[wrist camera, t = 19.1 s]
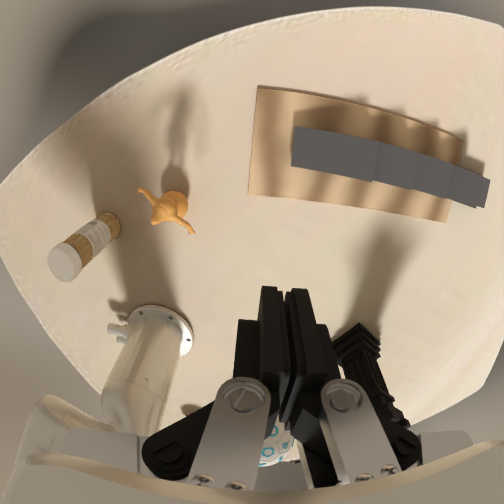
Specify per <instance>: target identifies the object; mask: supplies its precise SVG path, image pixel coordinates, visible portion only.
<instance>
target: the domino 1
mask: <svg viewBox="0 0 504 504" xmlns="http://www.w3.org/2000/svg"><path fill="white" fill-rule="evenodd" d="M378 144H379V142H378V141H374V140H370V139H365V138H361V137H356V136H351V135H346V134H341V133H336V132H330V131H324V130H318V129H311V128H304V127H297V126H295V132H294V141H293V150H292V159H291V166H292V167H298V168H304V169H309V170H315V171H320V172H326V173H331V174H336V175H341V176H345V177H350V178H355V179H359V180H363V181H368V182H372V181H373V175H374V169H375V163H376V157H377V151H378Z"/></svg>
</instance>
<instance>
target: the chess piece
mask: <svg viewBox="0 0 504 504" xmlns="http://www.w3.org/2000/svg"><path fill="white" fill-rule="evenodd" d="M379 345H381V344H380V341H378V340H377V339H376V338H375V337H374V336H373V335H372V334H371V333H370V332H369V331H368V330H367V329H366V328H365V327H364V326H363V325H361V324H360V323H358V324H357V325H355V326H354V327H353V328H351V329H350V330H349V331H347V332H346V333H345V334H343V335H342V336H340V337H339V338H338V339H336V340H335V341H333V342H332V346H333V349H334V353H335V357H336V360H337V364H338V365H339V366H341V367H342V368H343V371H344V375H345V378H346V379H348V380H352V381H354V382H356V383H358V384H359V385H360V386H361V387H362V388H363V389H364V391H365V392H366V394H367V396H368V398H369V400H370V402H371V404H372V406H373V408H374V410H375V411H376V412H378V413H380V414H381V415H383V416H385V417H386V418H388V419H390V420H392V421H393V422H395V423H397V424H398V425H400V426H402V427H404V428H405V429H407V428H409V427H410V423H409V420H407V419H405V418H404V415H403V413H402V411H400V410H399V409H397V408H395V407H394V406H393V402H394V401H395V399H394V397H393V396H391V395H390V394H389V392H388V389H387V386H386V384H385V381H384V378H383V376H382V373H381V371H380V368H379V365H378V363H377V359H378V358H380V357H381V356H380V354H379V353H378V352H379V351H381V350H380V347H378V346H379Z"/></svg>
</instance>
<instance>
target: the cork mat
mask: <svg viewBox="0 0 504 504" xmlns="http://www.w3.org/2000/svg"><path fill="white" fill-rule="evenodd" d="M295 126H297V127H304V128H311V129H318V130H324V131H330V132H336V133H341V134H346V135H351V136H356V137H361V138H365V139H370V140H374V141H378V142H382V143H386V144H390V145H394V146H397V147H401V148H405V149H408V150H412V151H415V152H418V153H421V154H424V155H427V156H430V157H433V158H436V159H439V160H442V161H445V162H448V163H451V164H453V165H455V166H458V167H459V163H460V157H461V150H462V143H463V140H461V139H458V138H456V137H454V136H451V135H449V134H447V133H444V132H442V131H440V130H437V129H434V128H432V127H429V126H427V125H424V124H421V123H419V122H416V121H413V120H410V119H407V118H404V117H401V116H398V115H395V114H391V113H388V112H385V111H381V110H378V109H374V108H370V107H367V106H363V105H359V104H354V103H350V102H346V101H341V100H337V99H332V98H327V97H321V96H316V95H310V94H303V93H297V92H289V91H281V90H272V89H262V88H258V89H257V99H256V110H255V121H254V132H253V143H252V154H251V166H250V177H249V189H248V194H250V195H261V196H271V197H281V198H290V199H299V200H308V201H316V202H324V203H331V204H339V205H346V206H353V207H359V208H366V209H372V210H378V211H384V212H390V213H396V214H402V215H407V216H413V217H418V218H423V219H428V220H433V221H438V222H443V223H446V221H447V217H448V214H449V210H450V206H451V202H452V200H450V199H447V198H446V199H444V198H441V197H437V196H434V195H431V194H428V193H424V192H421V191H417V190H414V189H412V190H408V189H404V188H400V187H397V186H393V185H389V184H385V183H381V182H377V181H372V182H368V181H363V180H359V179H355V178H350V177H345V176H341V175H336V174H331V173H326V172H320V171H315V170H309V169H304V168H298V167H292V166H291V159H292V150H293V141H294V132H295Z"/></svg>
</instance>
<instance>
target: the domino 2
mask: <svg viewBox="0 0 504 504" xmlns="http://www.w3.org/2000/svg"><path fill="white" fill-rule="evenodd" d="M417 158H418V152H415V151H412V150H408V149H405V148H401V147H397V146H394V145H390V144H386V143H382V142H379V144H378V151H377V157H376V163H375V169H374V175H373V181H377V182H381V183H385V184H389V185H393V186H397V187H400V188H404V189H408V190H412V185H413V180H414V175H415V170H416V164H417Z"/></svg>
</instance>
